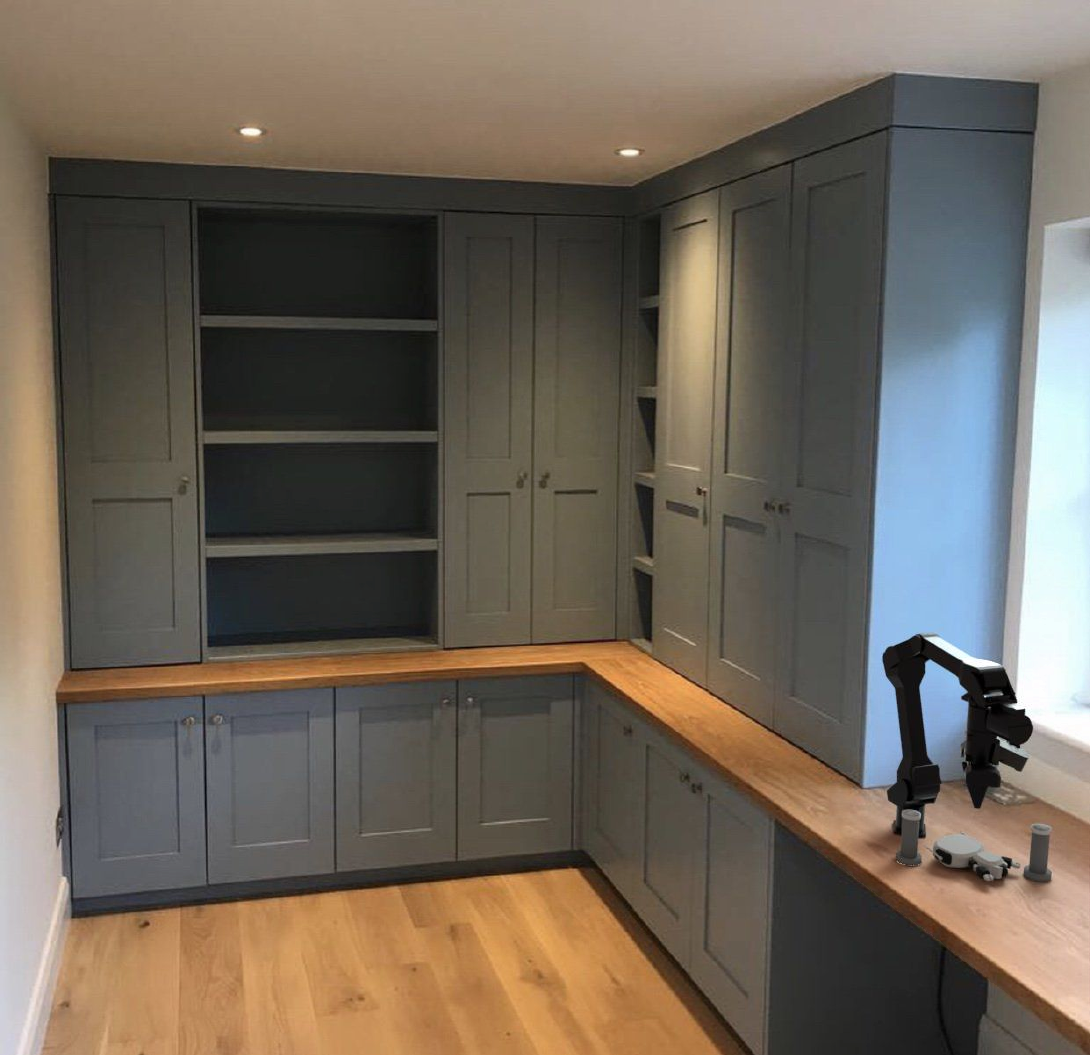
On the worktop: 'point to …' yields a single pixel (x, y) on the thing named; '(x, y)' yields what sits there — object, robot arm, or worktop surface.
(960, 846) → the robot toy
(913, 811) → the tube
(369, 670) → the worktop surface
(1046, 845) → the tube
